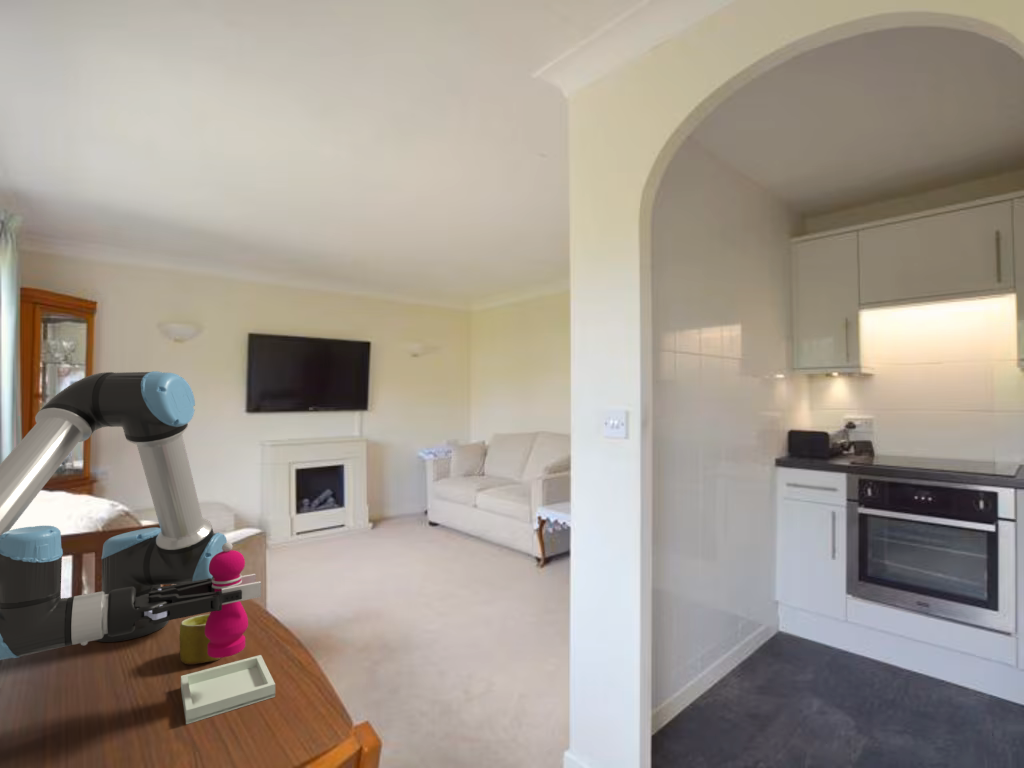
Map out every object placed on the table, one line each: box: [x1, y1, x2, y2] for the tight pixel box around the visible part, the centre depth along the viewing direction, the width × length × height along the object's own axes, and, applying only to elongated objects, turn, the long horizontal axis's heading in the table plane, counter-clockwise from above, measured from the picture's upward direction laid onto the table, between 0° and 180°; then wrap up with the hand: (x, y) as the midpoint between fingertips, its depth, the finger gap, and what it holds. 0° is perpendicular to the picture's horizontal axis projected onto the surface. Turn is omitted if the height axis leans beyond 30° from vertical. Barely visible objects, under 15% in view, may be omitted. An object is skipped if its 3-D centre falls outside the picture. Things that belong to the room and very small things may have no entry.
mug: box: [179, 613, 221, 665], centre depth 114 cm, size 12×10×10 cm
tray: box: [180, 654, 276, 725], centre depth 99 cm, size 14×14×2 cm
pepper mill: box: [205, 542, 249, 659], centre depth 99 cm, size 7×7×20 cm
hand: (257, 585), depth 102 cm, fingers closed on pepper mill, 5 cm apart
